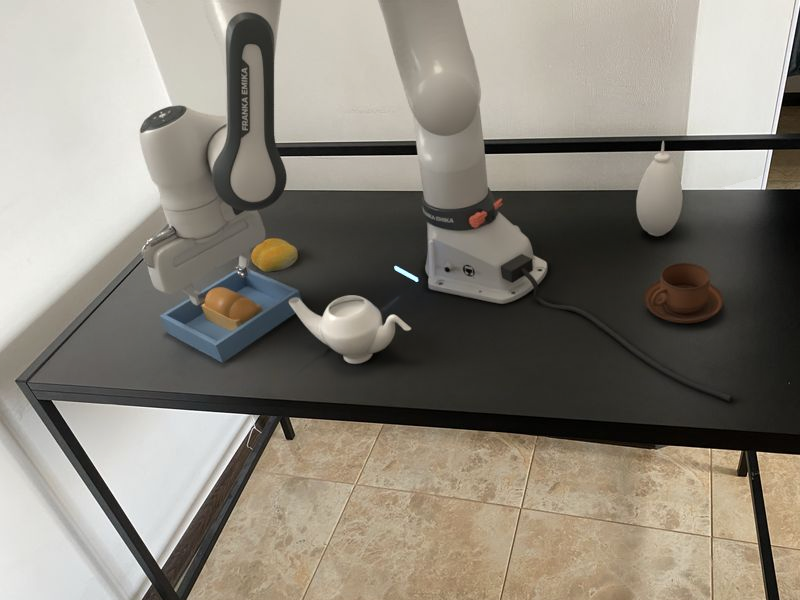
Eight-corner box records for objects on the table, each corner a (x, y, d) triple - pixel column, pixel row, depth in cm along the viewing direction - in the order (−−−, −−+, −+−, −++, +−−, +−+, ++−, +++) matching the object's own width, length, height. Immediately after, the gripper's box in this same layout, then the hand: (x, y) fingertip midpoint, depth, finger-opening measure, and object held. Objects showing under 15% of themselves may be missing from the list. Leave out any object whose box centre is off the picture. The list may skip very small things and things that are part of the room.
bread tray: (304, 309, 130) (299, 290, 127) (223, 365, 120) (215, 345, 117) (248, 285, 138) (242, 266, 135) (167, 335, 128) (159, 315, 125)
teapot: (405, 381, 112) (395, 332, 106) (288, 364, 118) (273, 317, 112) (427, 342, 119) (419, 294, 113) (316, 328, 125) (303, 282, 119)
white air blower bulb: (687, 231, 137) (696, 138, 126) (661, 249, 133) (668, 154, 122) (652, 219, 142) (658, 127, 131) (626, 235, 138) (630, 143, 127)
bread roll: (270, 279, 139) (264, 260, 136) (247, 262, 144) (241, 244, 142) (307, 261, 143) (302, 242, 140) (284, 245, 148) (279, 227, 146)
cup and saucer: (696, 340, 113) (700, 306, 109) (629, 312, 120) (630, 280, 116) (736, 302, 119) (741, 269, 115) (669, 278, 126) (672, 247, 122)
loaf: (268, 321, 127) (260, 296, 124) (243, 338, 124) (234, 312, 121) (228, 302, 133) (219, 277, 130) (203, 317, 130) (193, 293, 127)
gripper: (150, 250, 108) (180, 326, 117) (259, 192, 120) (280, 265, 129) (126, 238, 112) (157, 313, 120) (235, 184, 123) (257, 256, 132)
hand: (222, 288), depth 124 cm, fingers open, 8 cm apart
